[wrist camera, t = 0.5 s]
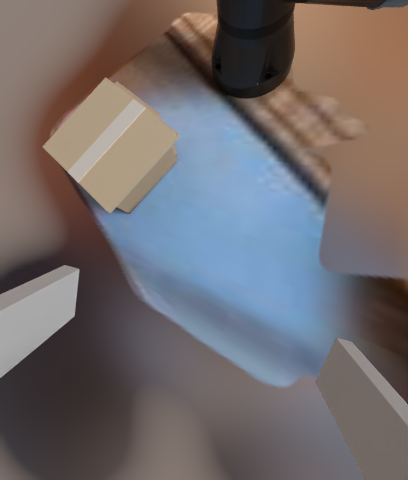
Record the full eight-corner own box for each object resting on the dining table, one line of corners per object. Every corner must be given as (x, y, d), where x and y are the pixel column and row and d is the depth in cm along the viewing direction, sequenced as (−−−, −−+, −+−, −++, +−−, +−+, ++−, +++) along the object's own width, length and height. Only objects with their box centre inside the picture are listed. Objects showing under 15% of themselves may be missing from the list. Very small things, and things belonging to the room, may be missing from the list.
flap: (109, 82, 30) (105, 76, 29) (179, 137, 26) (177, 132, 26) (47, 150, 30) (41, 146, 29) (110, 213, 26) (106, 211, 26)
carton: (146, 129, 41) (114, 78, 30) (180, 156, 38) (159, 113, 28) (97, 183, 41) (47, 151, 30) (129, 213, 38) (88, 192, 28)
